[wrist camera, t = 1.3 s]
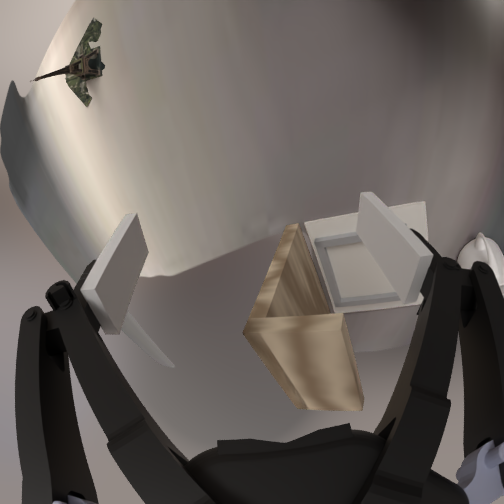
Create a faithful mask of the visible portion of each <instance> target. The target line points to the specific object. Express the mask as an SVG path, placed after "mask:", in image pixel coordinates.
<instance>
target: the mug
mask: <svg viewBox="0 0 504 504" xmlns="http://www.w3.org/2000/svg"><path fill="white" fill-rule="evenodd" d="M475 261H481V262H485V263H486V264H488V265H489V266H490V267H491V268H492V270H493V272H494V274H495V276H496V279H497V281H498V284H499V286H500V289H501V292H502V294H503V297H504V256H503V254H502V252H501V250H500V248H499V246H498V245H497V244H496V242H495V241H493V240H492V239H490V238H486V237H484V235H483V234H482V233H478V234H477V236H476V239H474V240H472V241H470V242H469V243H468V244H466V245H465V246H464V248H463V249H462V250H461V252H460V254H459V256H458V260H457V262H458V263H459V265H460V266H461V268H463V269H471V267H472V265H473V263H474V262H475Z"/></svg>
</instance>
